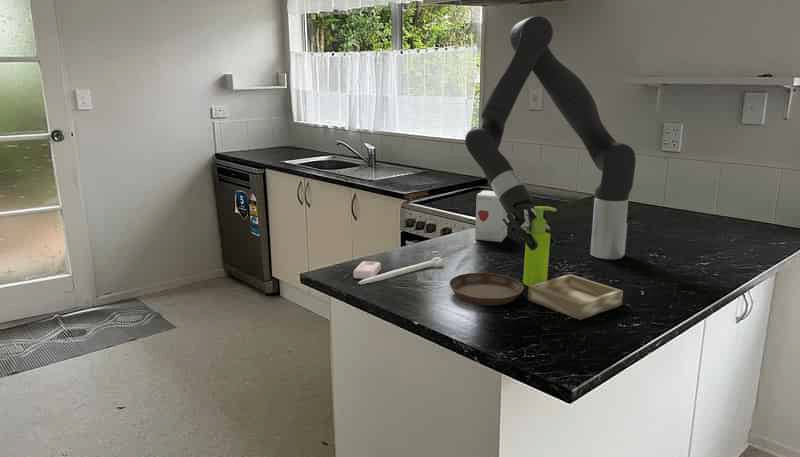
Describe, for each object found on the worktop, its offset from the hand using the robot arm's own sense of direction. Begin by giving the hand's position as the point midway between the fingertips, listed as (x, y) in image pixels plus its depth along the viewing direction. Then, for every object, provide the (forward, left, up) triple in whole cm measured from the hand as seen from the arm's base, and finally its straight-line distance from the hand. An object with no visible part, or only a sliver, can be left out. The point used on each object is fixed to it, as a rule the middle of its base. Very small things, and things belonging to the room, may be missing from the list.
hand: (543, 246), depth 148 cm
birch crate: (+3, +12, -10) cm, 16 cm away
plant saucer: (+16, -4, -11) cm, 20 cm away
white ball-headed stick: (+23, -28, -11) cm, 38 cm away
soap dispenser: (0, -2, -10) cm, 11 cm away
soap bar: (+30, -35, -11) cm, 47 cm away
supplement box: (-23, -42, -11) cm, 49 cm away
